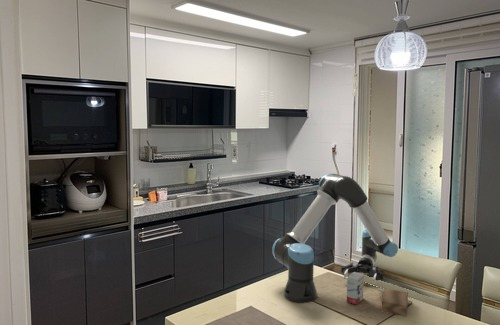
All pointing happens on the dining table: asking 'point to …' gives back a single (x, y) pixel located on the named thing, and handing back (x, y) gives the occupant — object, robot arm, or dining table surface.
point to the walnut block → (395, 302)
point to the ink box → (355, 287)
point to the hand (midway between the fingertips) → (359, 278)
